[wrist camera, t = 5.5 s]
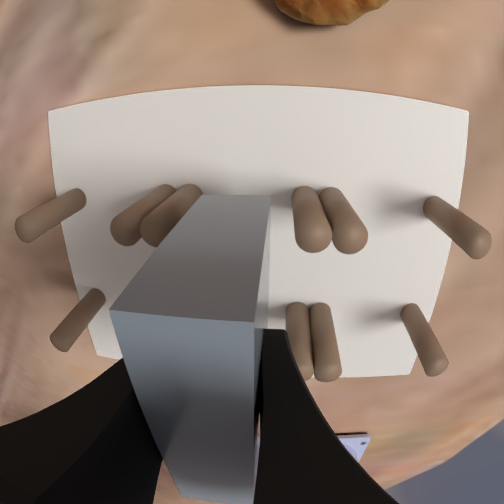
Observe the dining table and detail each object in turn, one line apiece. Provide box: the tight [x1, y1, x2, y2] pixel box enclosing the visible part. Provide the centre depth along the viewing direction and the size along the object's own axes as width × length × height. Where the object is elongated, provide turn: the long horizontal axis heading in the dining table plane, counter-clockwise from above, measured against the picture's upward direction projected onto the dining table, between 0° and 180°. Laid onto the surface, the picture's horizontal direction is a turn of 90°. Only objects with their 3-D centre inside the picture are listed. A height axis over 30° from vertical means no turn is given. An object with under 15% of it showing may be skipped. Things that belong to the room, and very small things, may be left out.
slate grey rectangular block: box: [109, 195, 271, 504], centre depth 10 cm, size 8×2×7 cm, turn 0°
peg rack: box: [15, 85, 492, 382], centre depth 14 cm, size 16×21×6 cm
